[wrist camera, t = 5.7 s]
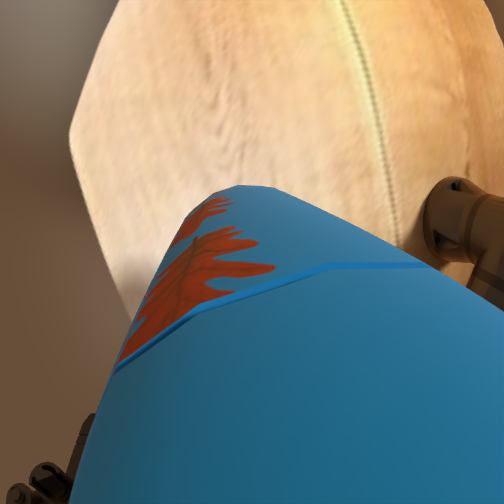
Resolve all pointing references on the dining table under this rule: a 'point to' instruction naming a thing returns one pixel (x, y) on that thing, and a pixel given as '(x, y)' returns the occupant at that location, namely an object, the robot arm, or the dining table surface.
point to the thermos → (298, 371)
